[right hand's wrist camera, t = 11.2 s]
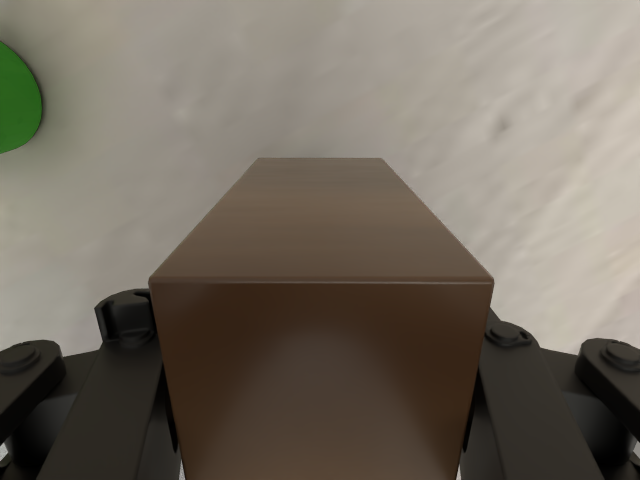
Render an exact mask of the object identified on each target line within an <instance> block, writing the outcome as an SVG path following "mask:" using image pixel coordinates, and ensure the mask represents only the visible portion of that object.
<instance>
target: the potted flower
mask: <svg viewBox="0 0 640 480" xmlns="http://www.w3.org/2000/svg"><path fill="white" fill-rule="evenodd" d="M41 113H42V104H41V96H40V93H39V89H38V86H37V84H36V82H35V79H34V77H33V75H32V74H31V72H30V71H29V69H28V68H27V66H26V65H25V63H24V62H23V61H22V60H21V59H20V58H19V57H18V56H17V55H16V54H15V53H14V52H13V51H12V50H11V49H10V48H8V47H7V46H6V45H5V44H3V43H2V42H0V154H1V153H4V152H7V151H10V150H13V149H16V148H18V147H20V146H22V145H24V144H25V143H26V142H28V141H29V140H30V139H31V138H32V137H33V135H34V133H35V132H36V130H37V129H38V126H39V123H40V120H41Z"/></svg>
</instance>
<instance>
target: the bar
mask: <svg viewBox="0 0 640 480" xmlns="http://www.w3.org/2000/svg"><path fill="white" fill-rule="evenodd" d="M148 285H149V290H150V295H151V301H152V306H153V311H154V317H155V322H156V327H157V332H158V338H159V343H160V348H161V353H162V359H163V364H164V369H165V374H166V380H167V385H168V390H169V396H170V401H171V406H172V411H173V417H174V422H175V427H176V432H177V438H178V443H179V448H180V453H181V459H182V464H183V469H184V475H185V480H456V478H457V472H458V467H459V462H460V457H461V452H462V447H463V442H464V437H465V431H466V426H467V421H468V416H469V411H470V406H471V401H472V396H473V390H474V385H475V380H476V375H477V370H478V365H479V360H480V355H481V350H482V344H483V339H484V334H485V329H486V324H487V319H488V314H489V309H490V303H491V298H492V293H493V288H494V279H493V277H492V276H491V275H490V274H489V273H488V272H487V271H486V269H485V268H484V267H483V266H482V265H481V264H480V263H479V262H478V261H477V260H476V259H475V258H474V257H473V255H472V254H471V253H470V252H469V251H468V250H467V249H466V248H465V247H464V246H463V245H462V244H461V243H460V242H459V240H458V239H457V238H456V237H455V236H454V235H453V234H452V233H451V232H450V231H449V230H448V229H447V228H446V227H445V225H444V224H443V223H442V222H441V221H440V220H439V219H438V218H437V217H436V216H435V215H434V214H433V213H432V212H431V210H430V209H429V208H428V207H427V206H426V205H425V204H424V203H423V202H422V201H421V200H420V199H419V198H418V197H417V195H416V194H415V193H414V192H413V191H412V190H411V189H410V188H409V187H408V186H407V185H406V184H405V183H404V182H403V180H402V179H401V178H400V177H399V176H398V175H397V174H396V173H395V172H394V171H393V170H392V169H391V168H390V166H389V165H388V164H387V163H386V162H385V161H384V160H383V159H382V158H258V159H257V160H256V161H255V162H254V163H253V164H252V166H251V167H250V168H249V169H248V170H247V171H246V172H245V173H244V174H243V175H242V177H241V178H240V179H239V180H238V181H237V182H236V183H235V184H234V185H233V186H232V188H231V189H230V190H229V191H228V192H227V193H226V194H225V195H224V196H223V197H222V199H221V200H220V201H219V202H218V203H217V204H216V205H215V206H214V207H213V208H212V209H211V211H210V212H209V213H208V214H207V215H206V216H205V217H204V218H203V219H202V220H201V222H200V223H199V224H198V225H197V226H196V227H195V228H194V229H193V230H192V231H191V233H190V234H189V235H188V236H187V237H186V238H185V239H184V240H183V241H182V242H181V243H180V245H179V246H178V247H177V248H176V249H175V250H174V251H173V252H172V253H171V254H170V256H169V257H168V258H167V259H166V260H165V261H164V262H163V263H162V264H161V265H160V267H159V268H158V269H157V270H156V271H155V272H154V273H153V274H152V275H151V276H150V278H149V281H148Z"/></svg>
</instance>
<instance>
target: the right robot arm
mask: <svg viewBox="0 0 640 480" xmlns="http://www.w3.org/2000/svg"><path fill="white" fill-rule="evenodd" d="M94 309H95V313H96V317H97V321H98V325H99V329H100V332H101V336H102V340H103V343H102V345H101V347H100V349H99V350H95V351H92V352H86V353H81V354H76V355H71V356H66V357H63V356H62V353H61V349H60V346H59V345H58V344H57V343H55V342H54V341H49V340H36V341H27V342H23V343H19V344H16V345H13V346H11V347H10V348H7V349H5V350H3V351H1V352H0V446H1V445H2V444H3V443H4V444H5V446H6V448H7V451H8V453H7V455H6V456H5V457H4V458H3V459H2V460H1V461H0V480H179V474H180V466H181V453H180V448H179V443H178V438H177V432H176V427H175V422H174V417H173V411H172V406H171V401H170V396H169V390H168V385H167V380H166V374H165V369H164V364H163V359H162V353H161V348H160V343H159V338H158V332H157V327H156V322H155V317H154V311H153V306H152V301H151V295H150V290H149V289H133V290H127V291H123V292H120V293H117V294H114V295H111V296H109V297H108V298H106V299H104V300H102V301H101V302H100V303H99V304H98V305H97V306H96V307H95V308H94ZM637 440H638V441H639V443H640V349H638V348H635V347H633V346H631V345H630V344H627V343H624V342H621V341H620V342H619V341H618V340H613V339H602V338H595V339H588V340H586V341H585V342H584V343H582V345H581V348H580V351H579V354H578V355H573V354H568V353H562V352H557V351H552V350H548V349H544V348H540V346H539V344H538V342H537V341H536V339H535V338H534V337H533V336H532V334H530V333H529V332H527V331H526V330H524V329H523V328H521V327H519V326H517V325H514V324H512V323H509V322H504V321H501V320H500V319H499V318H498V317H497V315H496V314H495V313H494V311H493V310H492V309H491V308H490V309H489V314H488V319H487V324H486V329H485V334H484V339H483V344H482V350H481V355H480V360H479V365H478V370H477V375H476V380H475V385H474V390H473V396H472V401H471V406H470V411H469V416H468V421H467V426H466V431H465V437H464V442H463V447H462V452H461V457H460V462H459V465H460V473H461V480H640V459H639V458H638V456H637V455H636V454H635V453H634V452H633V450H634V447H635V445H636V443H637Z"/></svg>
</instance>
